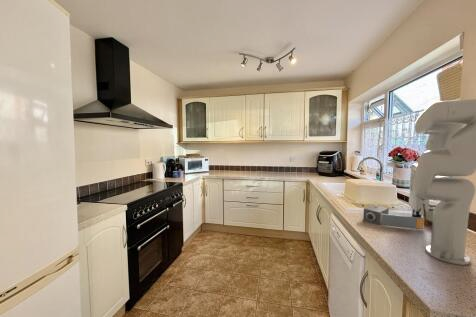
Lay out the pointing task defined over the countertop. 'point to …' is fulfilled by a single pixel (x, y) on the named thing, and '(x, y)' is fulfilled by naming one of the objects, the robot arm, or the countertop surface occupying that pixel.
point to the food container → (429, 216)
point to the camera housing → (374, 213)
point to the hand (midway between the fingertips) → (415, 222)
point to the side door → (402, 221)
